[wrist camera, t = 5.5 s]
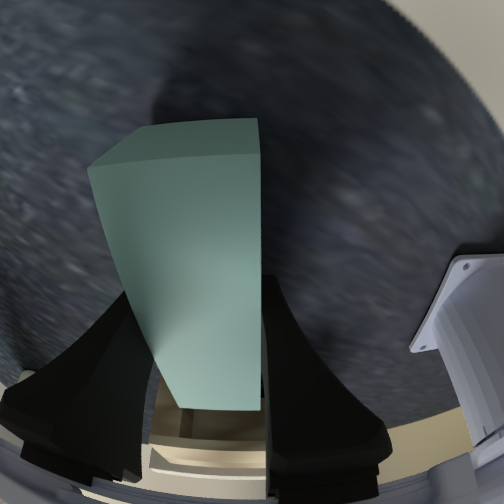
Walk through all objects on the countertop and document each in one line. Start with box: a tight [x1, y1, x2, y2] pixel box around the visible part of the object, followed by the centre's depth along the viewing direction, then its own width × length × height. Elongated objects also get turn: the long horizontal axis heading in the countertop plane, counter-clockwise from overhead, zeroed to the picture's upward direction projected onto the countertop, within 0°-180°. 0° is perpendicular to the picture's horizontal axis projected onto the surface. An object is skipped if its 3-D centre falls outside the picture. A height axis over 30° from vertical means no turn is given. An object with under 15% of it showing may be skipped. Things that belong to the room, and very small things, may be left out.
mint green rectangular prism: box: [87, 118, 261, 410], centre depth 11 cm, size 4×12×4 cm, turn 1°
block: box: [148, 374, 266, 468], centre depth 19 cm, size 10×6×6 cm, turn 91°
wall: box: [149, 447, 266, 480], centre depth 23 cm, size 14×2×6 cm, turn 91°
